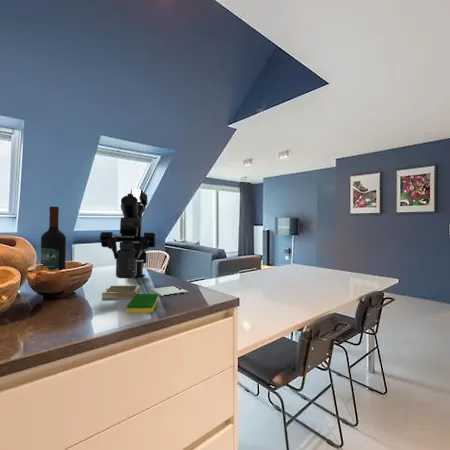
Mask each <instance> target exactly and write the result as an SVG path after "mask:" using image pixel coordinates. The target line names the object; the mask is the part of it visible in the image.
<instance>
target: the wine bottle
mask: <svg viewBox="0 0 450 450" xmlns="http://www.w3.org/2000/svg"><path fill="white" fill-rule="evenodd" d="M48 209H49V210H48V211H49V224H48V225H49V227H48V230H46V231H45V232H44V233H43V234H42V235H41V238H40V265H41V264H43V265H44V266H46V267H47V268H48V269H49V270H62V269H65V270H66V257H67V256H66V255H67V254H66V253H67V250H66V248H67V246H66V245H67V243H66V242H67V240H66V239H67V237H66V235H65V233H64V232H62V231H61V230H60V228H59V211H60V207H59V206H49V208H48Z"/></svg>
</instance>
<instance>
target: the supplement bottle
mask: <svg viewBox="0 0 450 450" xmlns="http://www.w3.org/2000/svg"><path fill="white" fill-rule="evenodd" d="M136 257H137V252H136V251H135V250H134V242H119V249H117V253H116V259H115V277H116V278H118V279H133V278H134V277H135V276H136V272H137V261H138V260H137V258H136Z"/></svg>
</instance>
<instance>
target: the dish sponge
mask: <svg viewBox="0 0 450 450" xmlns="http://www.w3.org/2000/svg"><path fill="white" fill-rule="evenodd" d="M158 302H159V295H158V294H156V293H138V294H136V295H135V296H134V297H133V298H131V300H130V301H129V302H128V304H127V305H126V314H151V313H150V312H152V313H153V312H154V310H155V308H156V306H157V304H156V303H158Z"/></svg>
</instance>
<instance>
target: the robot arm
mask: <svg viewBox="0 0 450 450" xmlns="http://www.w3.org/2000/svg"><path fill="white" fill-rule="evenodd" d="M120 202H121V204H120V211H121V213H122V215H123V217H120V224H119V227H120V228H119V234H120V235H116V234H114V232H113V231H101V232H100V234H99V241H100V243H101V247H102V248H107V249H110V250H111V251H112V254H113V257H114V260H116V253H117V251H118V245H117V243H120V242H134V250H135V251H136V252H137V257H136V258H137V272H136V276H135V277H133V278H141V277H145V276H146V274H144V271H143V270H144V264H147V261H148V257H147V252H146V250H148V249H149V248H155V247H156V234H155V232H144V233H143V236H142V228H143V227H142V226H143V225H142V224H143V214H144V213H145V212H146V209H147V206H148V195H147V194H146V193H145V192H144V190H143V189H141V188H133V189H130V192H129V193H127V195H125V196H122V197H121V200H120Z"/></svg>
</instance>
